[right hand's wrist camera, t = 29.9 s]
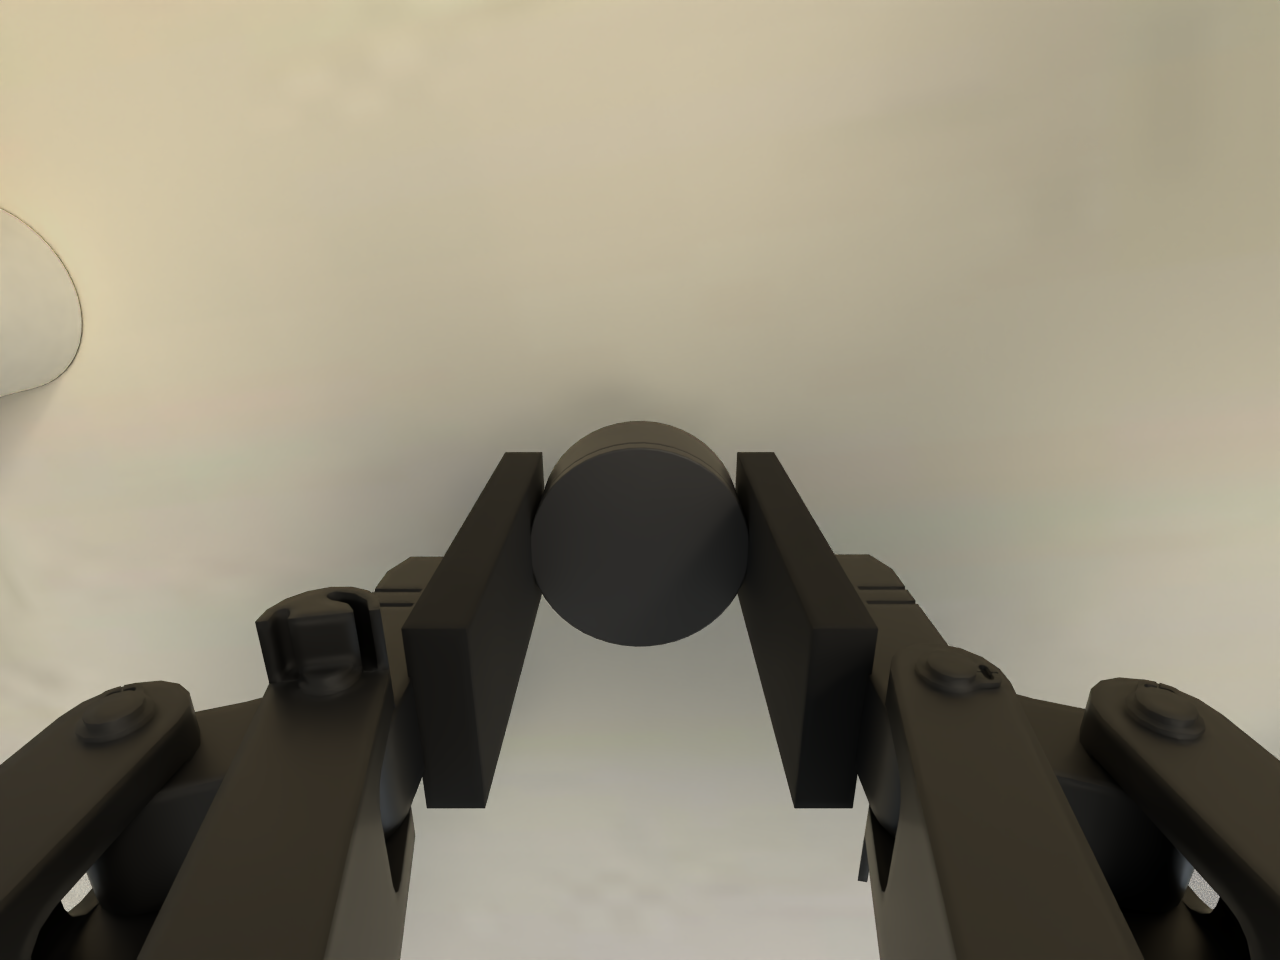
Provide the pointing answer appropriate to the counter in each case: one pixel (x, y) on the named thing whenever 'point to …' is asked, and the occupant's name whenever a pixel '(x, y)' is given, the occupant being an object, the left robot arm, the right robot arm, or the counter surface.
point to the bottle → (34, 310)
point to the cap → (639, 535)
